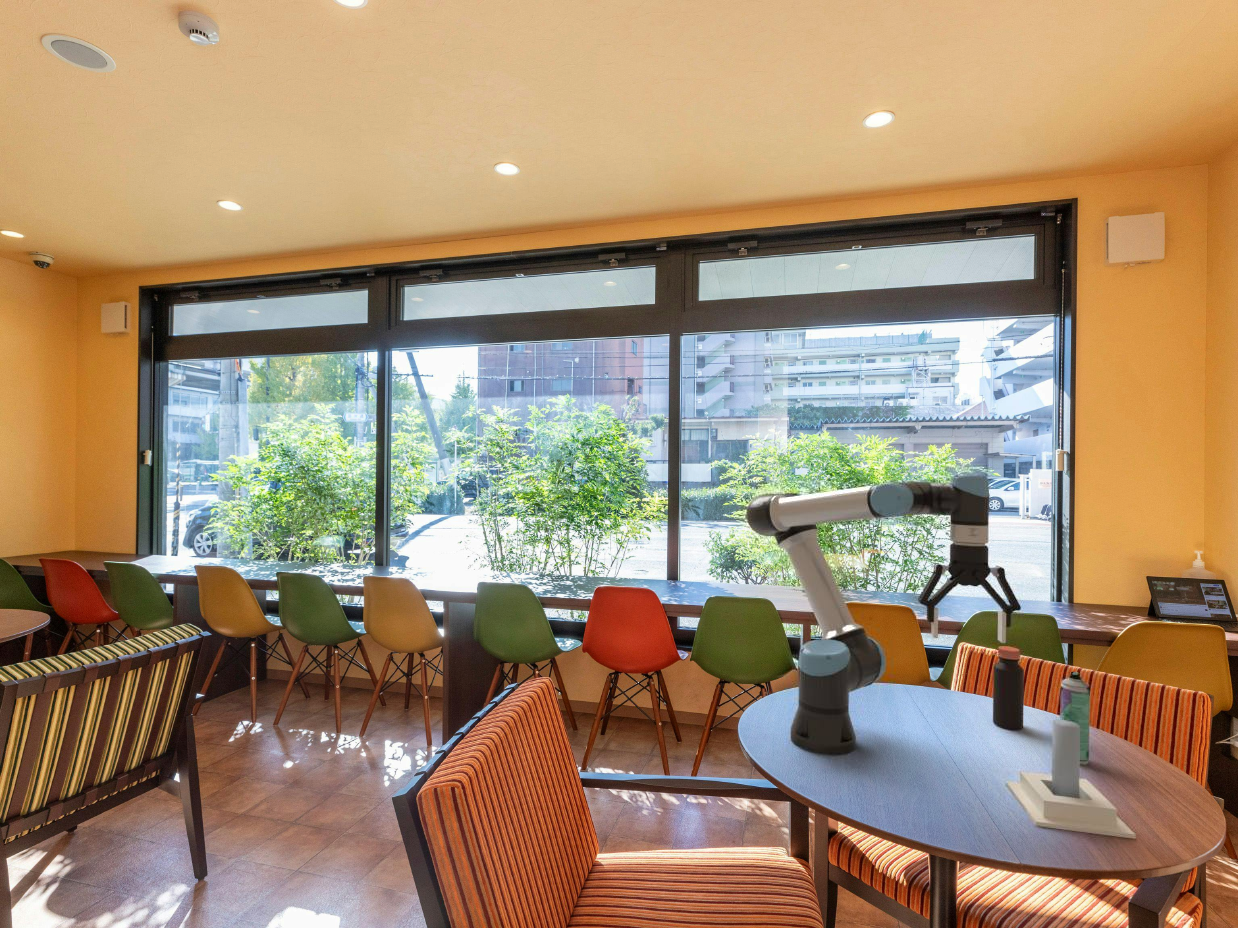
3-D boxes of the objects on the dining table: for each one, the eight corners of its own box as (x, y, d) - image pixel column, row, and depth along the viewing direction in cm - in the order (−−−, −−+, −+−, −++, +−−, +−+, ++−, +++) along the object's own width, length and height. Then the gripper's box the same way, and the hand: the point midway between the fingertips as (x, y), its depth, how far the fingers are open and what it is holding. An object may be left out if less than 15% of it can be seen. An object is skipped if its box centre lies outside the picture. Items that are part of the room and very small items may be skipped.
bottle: (1023, 723, 168) (1024, 647, 168) (1023, 732, 162) (1024, 653, 163) (993, 718, 172) (994, 643, 172) (992, 726, 166) (993, 649, 166)
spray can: (1083, 755, 150) (1085, 670, 150) (1092, 766, 144) (1093, 677, 144) (1056, 752, 151) (1057, 667, 151) (1064, 762, 146) (1065, 674, 146)
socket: (1035, 825, 119) (1036, 804, 119) (1005, 784, 135) (1005, 765, 135) (1135, 838, 116) (1135, 816, 116) (1092, 795, 131) (1092, 775, 131)
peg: (1057, 809, 124) (1058, 727, 124) (1047, 798, 128) (1048, 718, 128) (1083, 813, 123) (1084, 729, 123) (1072, 801, 127) (1073, 720, 127)
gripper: (912, 543, 142) (910, 638, 142) (1038, 548, 136) (1037, 648, 136) (905, 539, 149) (904, 630, 149) (1025, 544, 143) (1024, 639, 143)
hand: (967, 639), depth 142 cm, fingers open, 13 cm apart
